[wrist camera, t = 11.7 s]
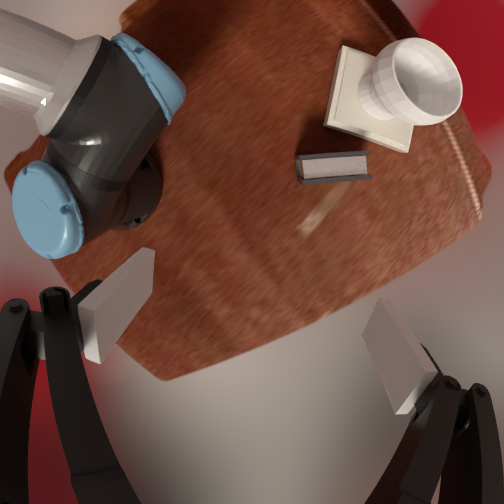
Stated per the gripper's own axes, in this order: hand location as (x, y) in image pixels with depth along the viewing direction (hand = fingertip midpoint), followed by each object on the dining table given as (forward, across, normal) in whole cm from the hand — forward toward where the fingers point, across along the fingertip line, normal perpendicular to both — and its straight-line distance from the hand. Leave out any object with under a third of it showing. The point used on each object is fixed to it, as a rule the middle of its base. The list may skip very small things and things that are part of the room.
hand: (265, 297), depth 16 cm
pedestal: (+32, +13, +21) cm, 40 cm away
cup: (+28, +13, +21) cm, 37 cm away
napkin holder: (+32, +8, +8) cm, 34 cm away
